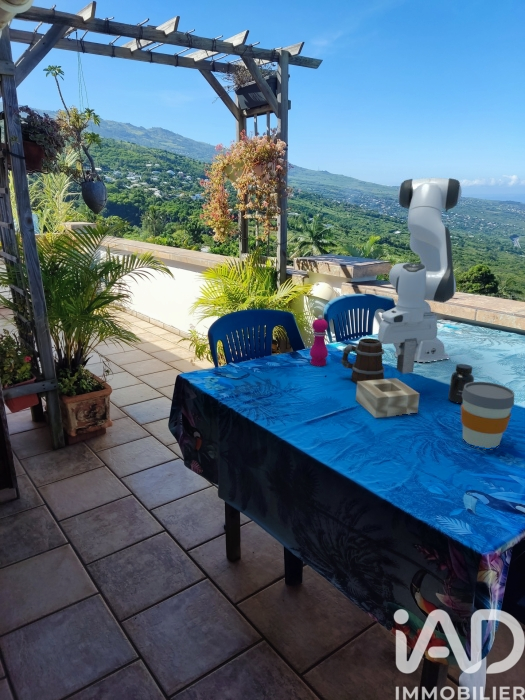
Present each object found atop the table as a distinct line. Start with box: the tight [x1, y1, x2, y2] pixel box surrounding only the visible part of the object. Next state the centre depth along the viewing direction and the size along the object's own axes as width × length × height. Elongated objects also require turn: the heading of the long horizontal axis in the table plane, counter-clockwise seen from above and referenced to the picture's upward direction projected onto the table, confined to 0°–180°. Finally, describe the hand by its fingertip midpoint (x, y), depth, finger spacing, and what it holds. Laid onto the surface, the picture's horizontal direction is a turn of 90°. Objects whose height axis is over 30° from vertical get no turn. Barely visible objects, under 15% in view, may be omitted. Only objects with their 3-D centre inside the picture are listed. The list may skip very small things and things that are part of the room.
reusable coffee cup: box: [460, 381, 515, 448], centre depth 125 cm, size 13×13×15 cm
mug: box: [340, 337, 385, 385], centre depth 170 cm, size 16×12×15 cm
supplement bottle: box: [447, 363, 475, 403], centre depth 153 cm, size 7×7×12 cm
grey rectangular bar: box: [396, 338, 417, 374], centre depth 159 cm, size 4×4×12 cm
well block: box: [355, 377, 420, 419], centre depth 148 cm, size 14×14×6 cm
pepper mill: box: [309, 314, 329, 367], centre depth 187 cm, size 7×7×20 cm
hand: (406, 353), depth 159 cm, fingers closed on grey rectangular bar, 4 cm apart
